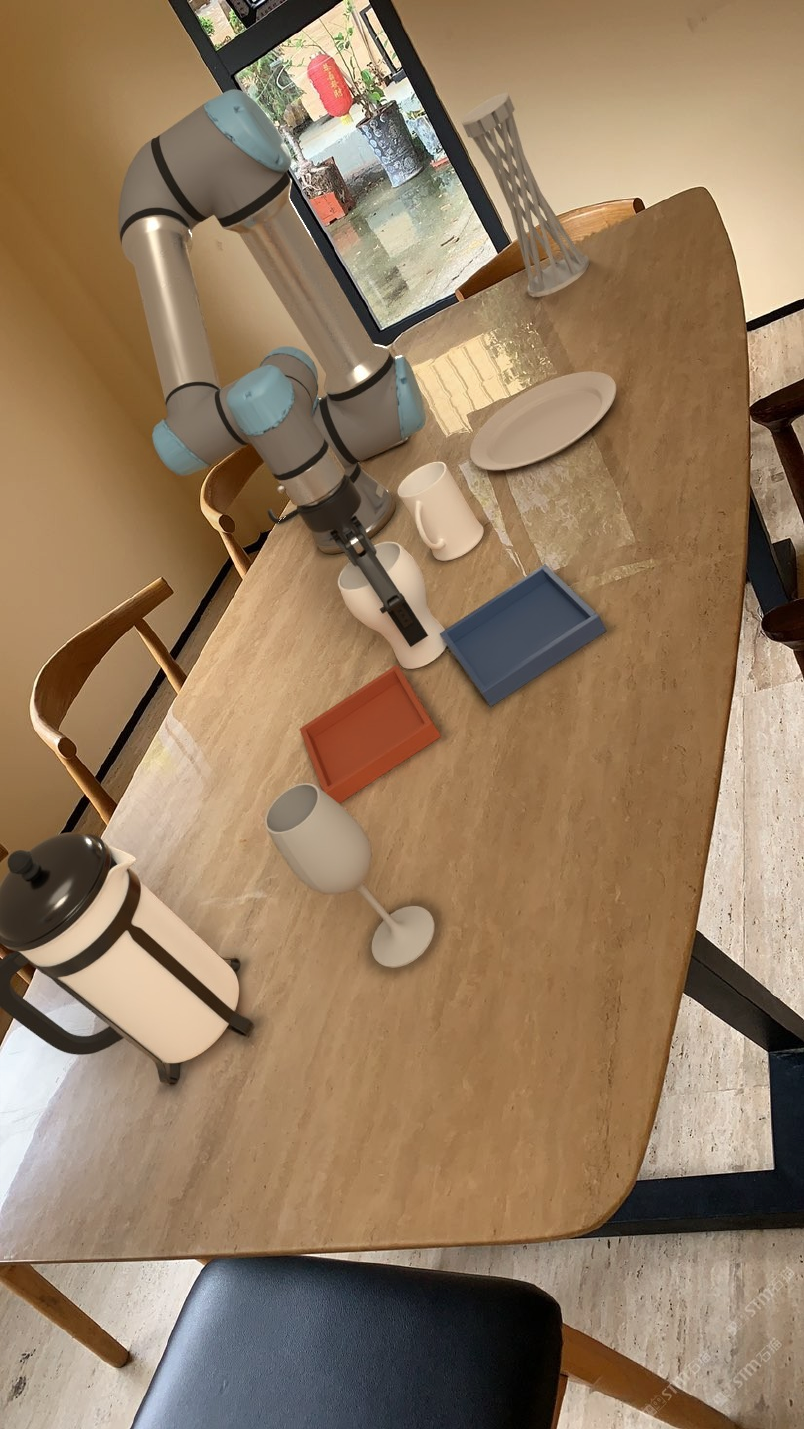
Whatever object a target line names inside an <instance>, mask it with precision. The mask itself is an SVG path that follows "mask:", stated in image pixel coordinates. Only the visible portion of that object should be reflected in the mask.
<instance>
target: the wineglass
mask: <svg viewBox="0 0 804 1429" xmlns="http://www.w3.org/2000/svg"><path fill="white" fill-rule="evenodd" d="M264 826H265V828H266V830H267V833H268V835H269V836H270V838H271V840H272V842H273V844H274V846H275V847H276V849H277V851H278V853H279V854H280V855H281V857H282V858H283V860H284V862H285V863H286V864H287V866H288V868H290V870H291V871H292V873H293V874H294V875H295V876H296V877H297V878H298V879H299V881H301V882H302V884H304V885H305V886H306V887H307V888H309V889H310V890H312V891H313V892H314V891H315V892H316V893H319V894H322V895H327V896H336V895H337V896H338V895H339V896H340V895H344V894H347V893H350V892H353V891H357V892H358V893H359V894H361V896H363V898H364V899H365V900H366V901H367V903H369V904H370V906H371V907H372V908H373V909H374V910H375V912H376V913H377V914H378V915H379V916H380V918H382V921H381V923H379V925H378V926H377V929H376V930H375V932H374V934H373V937H372V941H371V952H372V955H373V958H374V959H375V961H376V962H377V963H378V964H379V965H381V966H383V967H384V968H391V969H395V968H403V967H404V966H407V965H409V964H411V963H412V962H414V961H416V960H418V958H419V957H420V956H422V955H423V954H424V952H425V951H426V950H428V947H429V946H430V944H431V942H432V941H433V937H434V934H435V926H436V925H435V921H434V917H433V916H432V914H431V912H430V911H428V910H427V909H426V908H424V907H421V906H419V905H409V906H408V905H407V906H403V907H401V908H399V909H397V910H395V911H393V912H392V913H390V914H389V913H388V911H387V910H386V909H385V908H384V907H383V906H382V904H381V903H380V902H379V901H378V900H377V899H376V897H375V896H373V894H372V893H371V892H370V891H369V889H368V888H367V886H366V885H365V880H366V878H367V876H368V875H369V872H370V870H371V865H372V858H373V850H372V844H371V841H370V838H369V836H368V834H367V832H366V831H365V829H364V828H363V826H362V825H361V824H360V822H359V821H358V820H357V819H356V818H355V817H354V815H352V814H351V813H350V812H349V811H347V809H345V808H344V807H343V806H342V805H341V803H339V804H338V803H337V802H336V801H335V800H334V799H332V798H331V797H330V796H329V795H327V794H326V793H325V792H323V790H322V788H319V787H318V786H317V785H316V784H313V783H310V782H302V783H298V784H295V785H293V786H291V787H289V788H287V789H285V790H284V791H283V792H282V793H281V794H279V795H278V796H277V797H276V798H275V799H274V801H272V803H271V804H270V806H269V807H268V808H267V810H266V813H265V817H264Z"/></svg>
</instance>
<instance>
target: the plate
mask: <svg viewBox="0 0 804 1429" xmlns="http://www.w3.org/2000/svg"><path fill="white" fill-rule="evenodd" d="M616 394H617V384H616V382H615V380H614V378H612V377H611V376H610V375H608V374H607V373H604V372H600V371H579V372H573V373H569V374H565V375H561V376H559V377H556V378H552V379H550V380H548V381H545V382H542V383H541V384H539V385H536V386H534V387H532V388H530V389H529V390H527V391H525V392H523V393H521V394H519V395H518V396H516V397H515V398H513V399H511V401H509V402H508V403H506V404H504V405H503V406H502V407H501V408H500V409H498V410H497V411H496V412H495V413H494V414H493V415H492V416H490V417H489V418H488V419H487V420H486V422H485V423H484V424H483V425H482V426H481V427H480V429H479V430H478V431H477V433H476V434H475V436H474V438H473V439H472V441H471V444H470V448H469V457H470V460H471V461H472V463H473V465H475V466H476V467H478V468H480V469H483V470H489V471H505V470H511V469H517V468H520V467H524V466H530V465H533V464H536V463H538V462H542V461H544V460H546V459H549V458H551V457H553V456H555V455H557V454H559V453H561V452H563V451H564V450H566V449H567V448H569V447H570V446H572V445H573V444H574V443H576V442H577V441H578V440H580V439H581V438H582V437H584V436H585V435H586V433H588V432H589V431H590V430H591V429H592V428H593V427H594V426H595V425H596V424H597V423H599V421H600V420H602V418H603V417H604V416H605V415H606V413H607V412H608V411H609V409H610V408H611V406H612V405H613V402H614V400H615V398H616Z"/></svg>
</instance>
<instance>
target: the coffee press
mask: <svg viewBox="0 0 804 1429" xmlns="http://www.w3.org/2000/svg"><path fill="white" fill-rule="evenodd" d="M136 863H137V858H136V857H135V856H134V855H132V854H131V853H128V852H126V851H123V850H121V849H119V848H116V847H115V846H112V845H110V844H107V843H106V842H105V841H104V839H102V838H101V837H100V836H98V835H95V834H91V833H81V832H76V831H69V832H63V833H59V834H56V835H53V836H50V837H48V838H46V839H44V840H42V841H41V842H39V843H37V844H36V845H34V846H32V847H31V848H30V849H29V850H28V851H26V850H23V849H18V850H15V851H13V852H12V853H10V854H9V856H8V858H7V868H8V869H9V870H8V872H7V873H6V874H5V876H4V878H3V879H2V881H0V882H1V883H0V944H2V946H4V947H5V948H6V949H8V950H10V951H12V953H8V954H6V955H5V956H4V957H2V958H1V960H0V1008H1V1009H2V1010H3V1011H4V1012H6V1013H7V1014H8V1015H9V1016H10V1017H11V1018H12V1019H14V1020H15V1021H17V1022H18V1023H19V1024H20V1025H22V1026H24V1027H25V1029H27V1030H28V1031H30V1032H31V1033H32V1034H34V1035H36V1036H37V1037H38V1038H40V1039H41V1040H43V1041H44V1042H45V1043H47V1044H48V1045H50V1046H51V1047H53V1048H55V1049H56V1050H58V1051H60V1052H63V1053H66V1054H70V1055H76V1056H83V1055H84V1056H85V1055H91V1054H95V1053H98V1052H101V1051H104V1050H106V1049H107V1048H109V1047H112V1046H113V1045H115V1044H117V1043H118V1042H120V1041H121V1040H123V1039H125V1040H126V1041H127V1042H129V1043H130V1044H131V1045H132V1046H134V1048H136V1049H138V1051H140V1052H141V1053H143V1054H144V1055H145V1056H147V1057H148V1058H149V1059H150V1060H152V1061H153V1063H154V1065H155V1066H156V1070H157V1075H158V1079H159V1082H160V1083H161V1084H164V1085H168V1086H176V1084H177V1083H178V1082H179V1079H180V1063H182V1062H183V1063H184V1062H186V1061H189V1060H192V1059H194V1058H195V1057H198V1056H200V1055H202V1054H203V1053H204V1052H205V1051H207V1050H208V1049H209V1048H210V1047H211V1046H213V1045H214V1044H215V1043H216V1042H217V1041H218V1039H220V1037H221V1036H222V1035H223V1033H224V1032H225V1031H226V1030H230V1031H232V1032H233V1033H235V1034H238V1035H239V1036H242V1037H245V1038H248V1037H249V1035H250V1033H251V1032H252V1029H253V1027H254V1026H255V1023H254V1022H253V1021H251V1020H249V1019H248V1018H246V1017H244V1016H243V1015H241V1014H239V1013H238V1012H236V1010H237V1006H238V1003H239V996H240V985H239V980H238V977H237V974H236V973H237V972H238V971H239V970H240V967H241V963H240V959H239V958H237V957H231V956H221V955H220V954H218V952H216V950H214V948H212V947H211V946H210V945H208V944H207V942H206V941H204V939H202V938H201V937H200V936H199V935H198V934H197V933H196V932H195V931H193V929H192V928H190V927H189V925H188V924H187V923H185V922H184V921H183V920H182V919H181V918H180V917H179V916H178V915H177V914H175V913H174V911H172V910H171V909H170V908H169V907H168V906H167V905H166V904H165V903H164V902H162V900H161V899H160V898H159V897H157V896H156V895H155V894H154V893H153V892H152V891H151V889H149V888H148V887H146V886H147V885H145V884H144V883H143V882H141V881H140V878H139V877H138V875H137V874H136V872H134V870H132V869H131V868H130V867H132V866H133V865H135V864H136ZM226 961H230V965H229V964H228V963H227V962H226ZM27 964H30V965H31V966H32V967H33V968H35V969H36V970H37V971H38V972H40V973H41V974H43V975H44V976H45V977H48V978H49V979H51V980H52V981H53V982H54V983H55V984H56V985H57V986H59V987H60V988H61V989H62V990H64V992H66V993H67V994H68V995H70V996H71V997H72V998H73V999H75V1000H76V1001H78V1002H79V1003H80V1004H81V1005H82V1006H84V1007H85V1008H86V1009H88V1010H89V1011H90V1012H91V1013H93V1014H94V1015H95V1016H97V1017H98V1018H99V1019H100V1020H102V1021H103V1022H104V1023H105V1024H107V1026H108V1027H106V1028H104V1029H103V1030H100V1031H99V1032H96V1033H94V1034H90V1035H77V1034H74V1033H71V1032H69V1031H67V1030H66V1029H64V1028H63V1027H62V1026H61V1025H59V1024H58V1023H57V1022H56V1021H54V1020H52V1019H51V1018H50V1017H49V1016H47V1015H46V1014H44V1013H43V1012H42V1011H41V1010H39V1009H38V1008H37V1007H35V1006H34V1005H33V1004H32V1003H30V1002H29V1001H28V1000H26V999H25V998H23V997H22V996H21V995H20V994H19V993H18V992H17V991H16V990H15V989H14V988H13V986H12V983H11V980H12V979H13V977H14V976H15V975H16V974H17V973H18V972H19V971H21V970H22V968H23V967H24V966H26V965H27ZM164 1063H166V1064H169V1075H168V1072H167V1068H166V1065H165V1064H164ZM168 1076H169V1077H168Z"/></svg>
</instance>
